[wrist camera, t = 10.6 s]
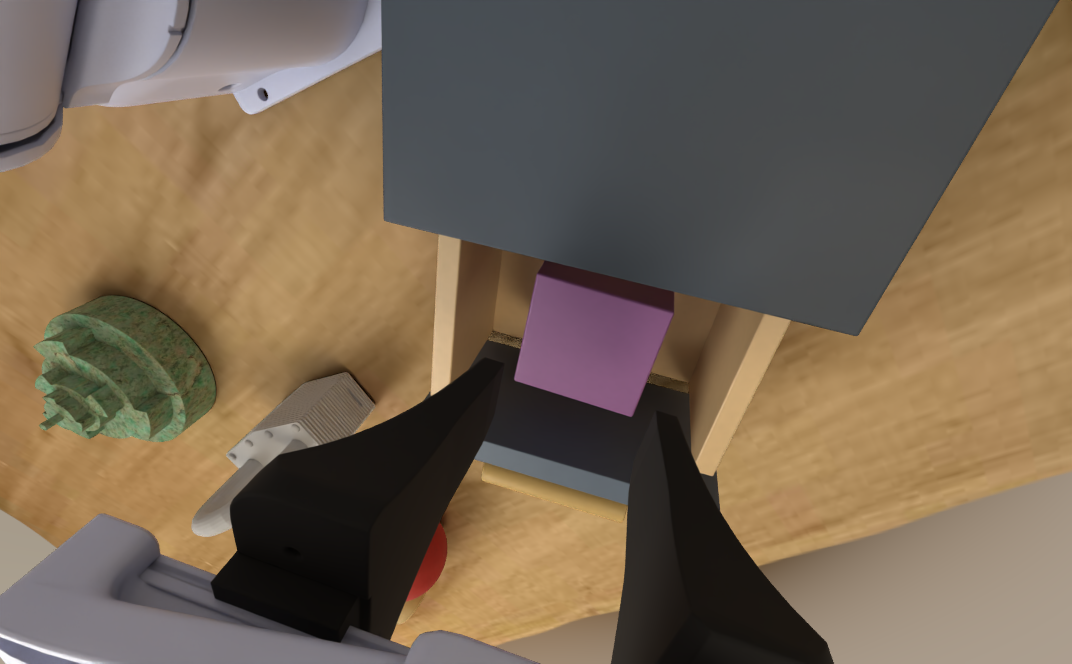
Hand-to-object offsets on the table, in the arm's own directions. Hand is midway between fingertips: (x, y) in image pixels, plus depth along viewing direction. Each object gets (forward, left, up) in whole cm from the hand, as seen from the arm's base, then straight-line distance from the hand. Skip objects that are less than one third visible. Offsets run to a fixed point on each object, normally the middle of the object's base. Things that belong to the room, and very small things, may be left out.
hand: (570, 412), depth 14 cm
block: (0, 0, -8) cm, 8 cm away
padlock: (-20, -4, -11) cm, 23 cm away
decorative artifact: (-32, +2, -11) cm, 34 cm away
